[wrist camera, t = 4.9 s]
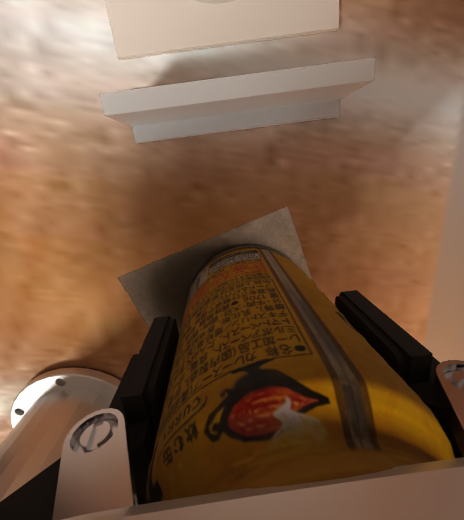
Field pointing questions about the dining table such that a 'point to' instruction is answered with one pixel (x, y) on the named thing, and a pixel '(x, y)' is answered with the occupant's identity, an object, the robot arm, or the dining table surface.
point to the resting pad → (212, 23)
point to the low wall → (238, 101)
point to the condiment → (269, 373)
